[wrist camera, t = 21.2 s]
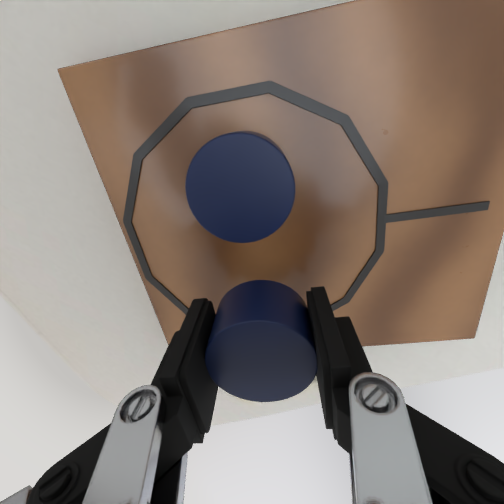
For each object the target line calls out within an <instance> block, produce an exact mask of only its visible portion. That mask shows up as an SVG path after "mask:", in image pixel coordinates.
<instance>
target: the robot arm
mask: <svg viewBox="0 0 504 504" xmlns="http://www.w3.org/2000/svg"><path fill="white" fill-rule="evenodd" d="M306 298H307V309H308V314H309V319H310V324H311V329H312V334H313V338H314V343H315V348H316V355H317V368H318V370H317V373H316V376H317V381H318V387H319V392H320V397H321V403H322V408H323V414H324V419H325V424H326V429H333V434H334V439H335V440H337V441H338V444H339V445H340V446H341V447H342V448H343V449H344V450H346V451H347V452H348V453H349V460H350V461H349V462H350V477H351V491H352V504H504V464H503V463H502V462H501V461H499V460H498V459H496V458H495V457H494V456H492V455H490V454H489V453H487V452H485V451H483V450H482V449H480V448H479V447H477V446H475V445H474V444H472V443H470V442H469V441H467V440H465V439H464V438H462V437H460V436H459V435H457V434H455V433H454V432H452V431H450V430H449V429H447V428H445V427H444V426H442V425H440V424H439V423H437V422H435V421H434V420H432V419H430V418H429V417H427V416H425V415H424V414H422V413H420V412H419V411H417V410H415V409H414V408H412V407H410V406H409V405H407V404H405V401H404V397H403V394H402V392H401V390H400V389H399V387H398V386H397V385H396V384H395V383H394V382H393V381H391V380H390V379H389V378H387V377H385V376H383V375H381V374H377V373H373V372H372V370H371V367H370V365H369V362H368V360H367V357H366V355H365V353H364V350H363V348H362V345H361V343H360V341H359V338H358V336H357V333H356V331H355V329H354V326H353V324H352V321H351V319H350V317H349V316H346V317H334V314H333V311H332V308H331V305H330V302H329V299H328V296H327V293H326V290H325V287H324V286H320V287H311V291H306ZM215 316H216V314H215V310H214V307H213V303H212V301H208V299H207V298H200V299H193V301H192V303H191V305H190V307H189V310H188V312H187V314H186V316H185V319H184V321H183V323H182V325H181V328H180V330H179V331H176V332H175V333H174V335H173V337H172V339H171V342H170V344H169V346H168V348H167V350H166V352H165V355H164V357H163V359H162V361H161V363H160V366H159V368H158V370H157V372H156V374H155V376H154V379H153V381H152V383H151V385H144V386H141V387H138V388H136V389H134V390H133V391H131V392H130V393H129V394H127V395H126V396H125V397H124V398H123V400H122V401H121V402H120V403H119V405H118V407H117V410H116V412H115V414H114V417H113V420H112V423H111V424H109V425H108V426H107V427H105V428H104V429H102V430H101V431H100V432H98V433H97V434H96V435H94V436H93V437H92V438H90V439H89V440H87V441H86V442H85V443H84V444H82V445H81V446H79V447H78V448H76V449H75V450H74V451H72V452H71V453H69V454H68V455H67V456H65V457H64V458H63V459H61V460H60V461H58V462H57V463H56V464H54V465H53V466H52V467H51V468H50V469H49V470H47V471H46V472H45V473H44V475H43V476H42V477H41V478H40V479H39V480H38V482H37V483H36V485H35V486H34V487H33V488H32V487H31V486H27V487H25V488H24V489H22V490H20V491H19V492H17V493H15V494H13V495H12V496H10V497H8V498H6V499H5V500H3V501H1V502H0V504H183V500H184V489H185V477H186V467H187V452H188V451H189V450H190V449H191V448H192V445H193V443H203V438H204V434H205V433H208V432H209V430H210V425H211V420H212V415H213V410H214V405H215V400H216V395H217V390H218V385H217V384H216V383H215V382H214V381H213V380H212V379H211V377H210V375H209V373H208V370H207V367H206V363H205V351H206V347H207V344H208V340H209V337H210V333H211V330H212V326H213V323H214V319H215Z"/></svg>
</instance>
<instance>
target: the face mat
mask: <svg viewBox="0 0 504 504" xmlns="http://www.w3.org/2000/svg"><path fill="white" fill-rule="evenodd" d="M58 73H59V75H60V78H61V80H62V83H63V85H64V88H65V90H66V93H67V95H68V97H69V100H70V102H71V105H72V107H73V110H74V112H75V115H76V117H77V120H78V122H79V125H80V127H81V130H82V132H83V135H84V137H85V140H86V142H87V144H88V147H89V149H90V152H91V154H92V157H93V159H94V162H95V164H96V167H97V169H98V172H99V174H100V177H101V179H102V182H103V184H104V187H105V189H106V191H107V194H108V196H109V199H110V201H111V204H112V206H113V209H114V211H115V214H116V216H117V219H118V221H119V224H120V226H121V229H122V231H123V234H124V236H125V238H126V241H127V243H128V246H129V248H130V251H131V253H132V256H133V258H134V261H135V263H136V266H137V268H138V271H139V273H140V276H141V278H142V281H143V283H144V285H145V288H146V290H147V293H148V295H149V298H150V300H151V303H152V305H153V308H154V310H155V313H156V315H157V318H158V320H159V323H160V325H161V328H162V330H163V332H164V335H165V337H166V340H167V342H168V345H169V344H170V342H171V339H172V337H173V335H174V333H175V332H176V331H179V330H180V328H181V325H182V323H183V321H184V319H185V316H186V314H187V312H188V310H189V307H190V305H191V303H192V301H193V299H200V298H207V299H208V301H212V303H213V307H214V310H215V314H216V312H217V309H218V306H219V303H220V301H221V299H222V298H223V297H224V295H225V294H226V293H227V292H228V291H229V290H231V289H232V288H234V287H235V286H237V285H239V284H241V283H244V282H248V281H252V280H271V281H276V282H279V283H282V284H284V285H287V286H288V287H290V288H292V289H293V290H294V291H296V292H297V293H298V294H299V295H300V296H301V297H302V299H303V300H304V302H305V303H306V305H307V298H306V291H311V287H320V286H324V287H325V290H326V293H327V296H328V299H329V302H330V305H331V308H332V311H333V314H334V317H346V316H349V317H350V319H351V321H352V324H353V326H354V329H355V331H356V333H357V336H358V338H359V341H360V343H361V345H362V346H376V345H389V344H403V343H417V342H430V341H444V340H457V339H471V338H475V335H476V331H477V327H478V324H479V320H480V316H481V313H482V309H483V305H484V302H485V298H486V294H487V291H488V287H489V283H490V280H491V276H492V272H493V269H494V265H495V261H496V257H497V254H498V250H499V246H500V243H501V239H502V235H503V232H504V0H355V1H350V2H346V3H342V4H337V5H333V6H329V7H324V8H320V9H316V10H311V11H307V12H303V13H298V14H294V15H290V16H285V17H281V18H277V19H272V20H268V21H264V22H259V23H255V24H250V25H246V26H242V27H237V28H233V29H229V30H224V31H220V32H216V33H211V34H207V35H203V36H198V37H194V38H190V39H185V40H181V41H177V42H172V43H168V44H164V45H159V46H155V47H151V48H146V49H142V50H138V51H133V52H129V53H125V54H120V55H116V56H111V57H107V58H103V59H98V60H94V61H90V62H85V63H81V64H77V65H72V66H68V67H64V68H59V69H58ZM236 131H253V132H257V133H260V134H262V135H264V136H266V137H268V138H270V139H271V140H272V141H274V142H275V143H276V144H277V145H278V146H279V147H280V149H281V150H282V151H283V153H284V155H285V156H286V158H287V160H288V162H289V164H290V166H291V169H292V171H293V175H294V179H295V200H294V204H293V207H292V210H291V212H290V214H289V216H288V218H287V219H286V221H285V222H284V224H283V225H282V226H281V227H280V228H279V229H278V230H277V231H275V232H274V233H273V234H271V235H270V236H268V237H266V238H264V239H262V240H258V241H255V242H250V243H234V242H229V241H226V240H222V239H220V238H218V237H216V236H214V235H212V234H211V233H210V232H208V231H207V230H206V229H205V228H203V227H202V226H201V225H200V223H199V222H198V221H197V220H196V218H195V217H194V215H193V213H192V211H191V209H190V207H189V204H188V201H187V197H186V189H185V182H186V175H187V171H188V168H189V165H190V163H191V161H192V159H193V157H194V156H195V154H196V153H197V151H198V150H199V149H200V148H201V147H202V146H203V145H205V144H206V143H207V142H208V141H210V140H212V139H213V138H215V137H218V136H220V135H223V134H227V133H231V132H236Z"/></svg>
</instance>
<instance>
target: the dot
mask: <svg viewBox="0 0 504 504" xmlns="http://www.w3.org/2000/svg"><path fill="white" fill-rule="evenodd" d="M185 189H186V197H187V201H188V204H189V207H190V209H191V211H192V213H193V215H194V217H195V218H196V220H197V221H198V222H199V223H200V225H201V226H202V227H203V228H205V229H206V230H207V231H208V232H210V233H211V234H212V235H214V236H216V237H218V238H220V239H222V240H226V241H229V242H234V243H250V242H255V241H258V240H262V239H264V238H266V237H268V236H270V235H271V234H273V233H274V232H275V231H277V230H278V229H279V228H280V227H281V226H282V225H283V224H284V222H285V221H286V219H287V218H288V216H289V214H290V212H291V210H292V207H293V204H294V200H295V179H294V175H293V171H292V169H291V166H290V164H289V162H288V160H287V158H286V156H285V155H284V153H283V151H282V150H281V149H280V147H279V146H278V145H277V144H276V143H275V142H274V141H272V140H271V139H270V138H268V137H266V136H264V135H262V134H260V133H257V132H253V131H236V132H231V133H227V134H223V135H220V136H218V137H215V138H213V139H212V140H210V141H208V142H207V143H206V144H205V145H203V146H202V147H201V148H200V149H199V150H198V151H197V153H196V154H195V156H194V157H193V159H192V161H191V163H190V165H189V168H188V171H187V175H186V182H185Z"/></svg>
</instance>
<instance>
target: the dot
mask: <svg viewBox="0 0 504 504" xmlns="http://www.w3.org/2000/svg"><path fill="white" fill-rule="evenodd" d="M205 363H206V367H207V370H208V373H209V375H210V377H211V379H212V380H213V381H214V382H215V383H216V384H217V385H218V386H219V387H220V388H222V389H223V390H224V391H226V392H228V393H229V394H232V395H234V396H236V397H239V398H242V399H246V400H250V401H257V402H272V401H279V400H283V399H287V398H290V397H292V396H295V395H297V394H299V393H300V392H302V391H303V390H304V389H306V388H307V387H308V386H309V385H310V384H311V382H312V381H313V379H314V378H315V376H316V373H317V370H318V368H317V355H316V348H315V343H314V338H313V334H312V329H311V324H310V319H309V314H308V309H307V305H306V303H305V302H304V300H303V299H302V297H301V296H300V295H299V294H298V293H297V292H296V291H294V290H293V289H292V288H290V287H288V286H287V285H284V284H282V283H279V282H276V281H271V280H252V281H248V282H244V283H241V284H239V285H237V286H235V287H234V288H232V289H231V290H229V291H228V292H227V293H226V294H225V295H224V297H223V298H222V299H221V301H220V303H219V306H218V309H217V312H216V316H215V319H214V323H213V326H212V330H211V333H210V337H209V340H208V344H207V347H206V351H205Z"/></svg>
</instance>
